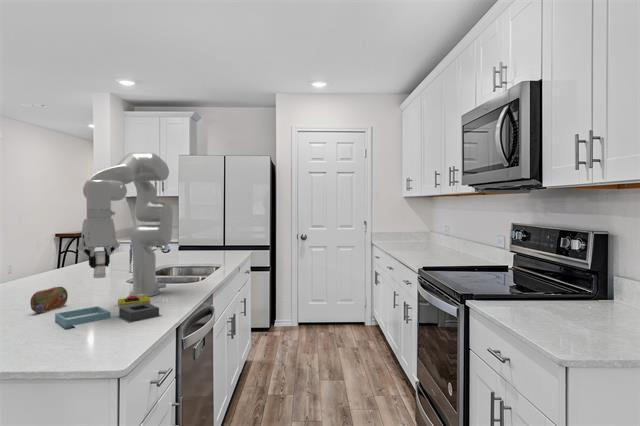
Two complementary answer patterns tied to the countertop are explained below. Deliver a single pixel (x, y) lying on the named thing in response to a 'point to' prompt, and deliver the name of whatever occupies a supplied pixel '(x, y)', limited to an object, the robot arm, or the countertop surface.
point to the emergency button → (132, 301)
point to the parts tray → (69, 323)
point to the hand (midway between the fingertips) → (99, 266)
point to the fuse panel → (138, 312)
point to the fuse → (100, 264)
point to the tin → (49, 299)
